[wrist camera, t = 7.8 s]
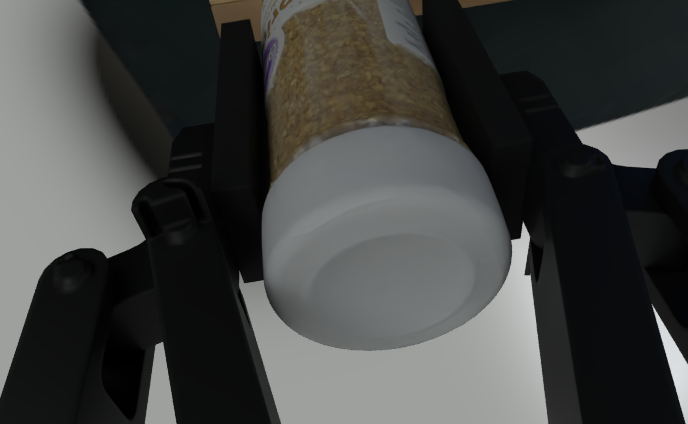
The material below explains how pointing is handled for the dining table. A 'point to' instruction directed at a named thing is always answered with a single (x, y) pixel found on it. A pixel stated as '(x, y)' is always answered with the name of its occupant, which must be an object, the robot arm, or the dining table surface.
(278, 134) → the spice jar
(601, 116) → the dining table surface
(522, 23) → the dining table surface
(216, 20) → the holder
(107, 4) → the dining table surface
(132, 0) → the dining table surface
